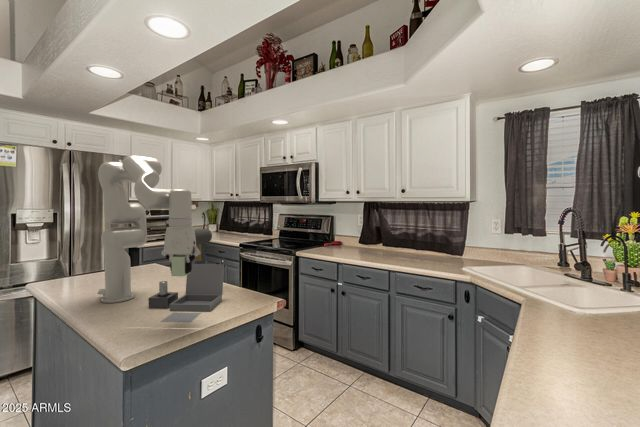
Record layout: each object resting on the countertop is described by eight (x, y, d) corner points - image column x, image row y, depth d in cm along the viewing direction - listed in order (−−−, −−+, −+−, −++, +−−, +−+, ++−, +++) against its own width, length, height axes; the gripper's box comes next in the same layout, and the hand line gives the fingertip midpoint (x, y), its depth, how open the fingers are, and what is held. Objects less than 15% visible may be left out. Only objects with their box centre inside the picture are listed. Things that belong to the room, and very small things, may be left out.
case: (169, 311, 120) (169, 304, 120) (185, 301, 133) (185, 294, 133) (209, 312, 119) (209, 305, 119) (221, 301, 132) (221, 294, 132)
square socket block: (148, 309, 123) (148, 297, 123) (159, 302, 131) (159, 292, 131) (168, 309, 122) (167, 298, 122) (178, 302, 130) (178, 292, 130)
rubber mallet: (195, 295, 141) (194, 230, 140) (182, 293, 144) (182, 229, 143) (213, 288, 153) (213, 228, 152) (201, 286, 155) (201, 227, 154)
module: (171, 276, 110) (171, 256, 110) (178, 272, 115) (178, 254, 115) (183, 276, 110) (183, 256, 110) (190, 273, 115) (190, 254, 115)
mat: (160, 323, 109) (160, 321, 109) (173, 313, 118) (173, 312, 118) (190, 323, 108) (190, 322, 108) (201, 314, 117) (201, 313, 117)
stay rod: (158, 307, 125) (157, 282, 125) (162, 304, 128) (161, 281, 128) (165, 307, 125) (164, 283, 125) (169, 304, 128) (168, 281, 128)
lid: (187, 263, 134) (188, 263, 135) (185, 294, 133) (186, 294, 133) (223, 264, 134) (224, 264, 135) (221, 294, 132) (222, 294, 133)
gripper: (151, 223, 108) (152, 274, 109) (198, 224, 108) (199, 275, 108) (163, 222, 116) (164, 270, 116) (207, 222, 115) (208, 270, 116)
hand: (181, 272), depth 112 cm, fingers closed on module, 4 cm apart
